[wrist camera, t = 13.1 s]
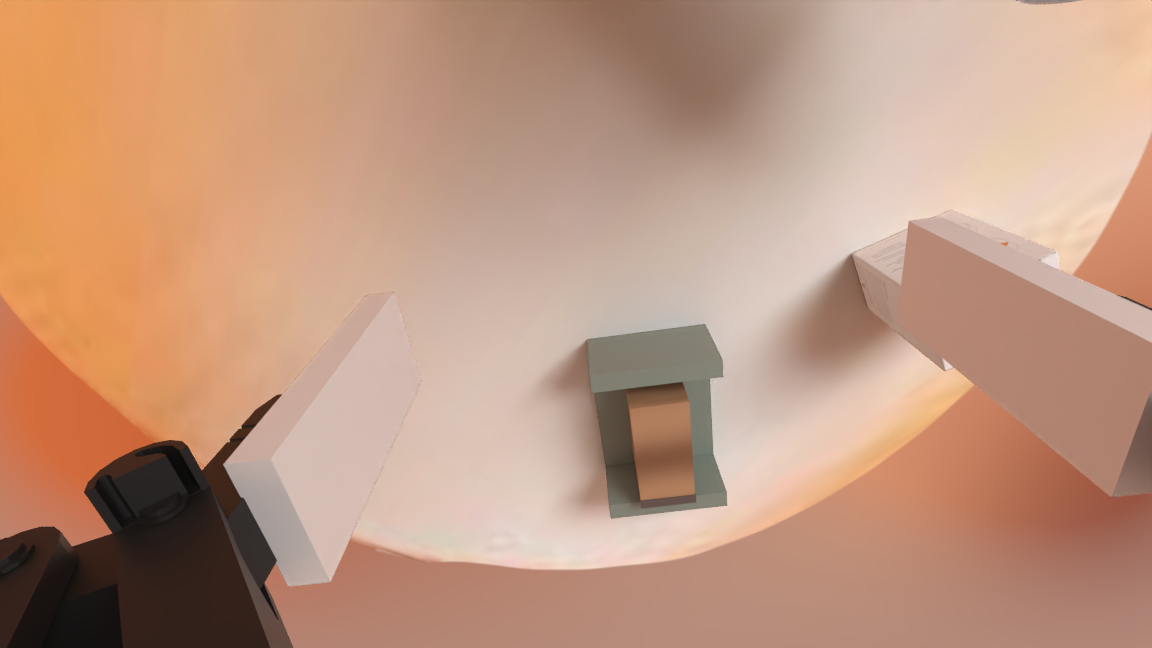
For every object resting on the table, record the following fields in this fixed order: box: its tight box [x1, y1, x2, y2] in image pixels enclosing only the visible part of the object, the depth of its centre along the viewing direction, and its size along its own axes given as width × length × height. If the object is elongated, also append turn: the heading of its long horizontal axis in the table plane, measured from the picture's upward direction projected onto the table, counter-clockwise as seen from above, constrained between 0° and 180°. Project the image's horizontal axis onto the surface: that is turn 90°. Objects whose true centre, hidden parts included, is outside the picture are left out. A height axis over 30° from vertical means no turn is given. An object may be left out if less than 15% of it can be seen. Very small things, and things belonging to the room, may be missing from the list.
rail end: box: [626, 382, 696, 509], centre depth 47 cm, size 10×5×6 cm, turn 8°
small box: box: [852, 210, 1060, 371], centre depth 40 cm, size 8×6×10 cm
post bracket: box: [587, 324, 727, 518], centre depth 47 cm, size 14×10×6 cm
